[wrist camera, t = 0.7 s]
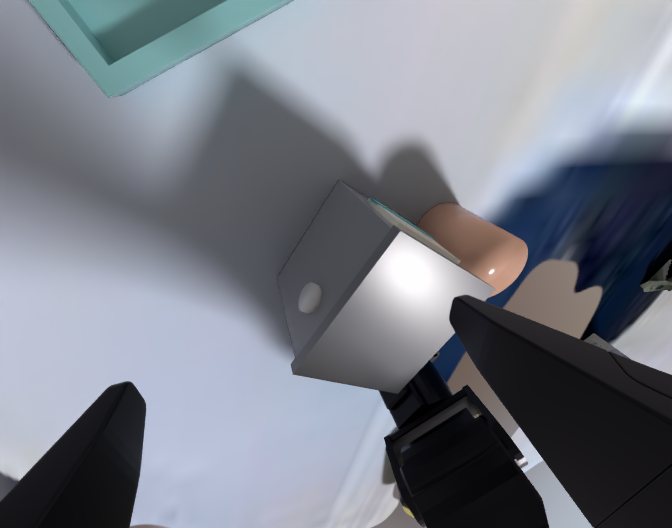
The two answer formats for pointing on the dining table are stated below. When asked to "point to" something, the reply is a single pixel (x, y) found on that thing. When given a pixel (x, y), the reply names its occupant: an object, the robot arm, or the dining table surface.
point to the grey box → (369, 294)
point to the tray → (144, 33)
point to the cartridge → (476, 244)
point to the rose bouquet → (659, 280)
